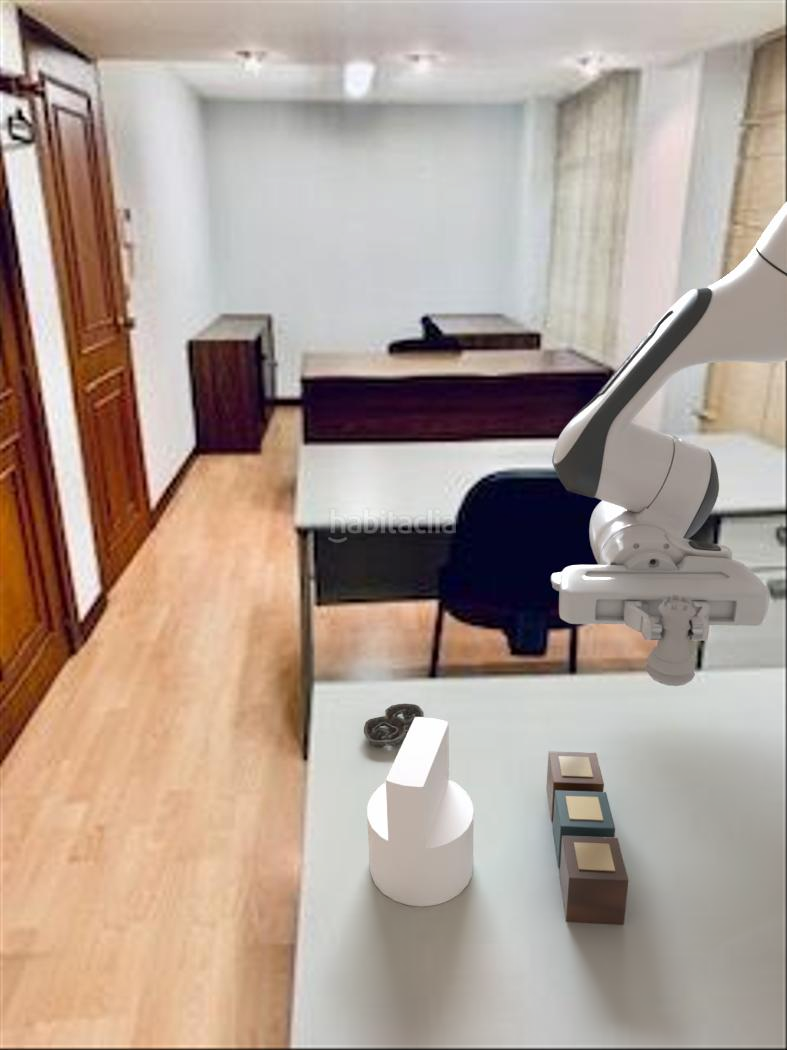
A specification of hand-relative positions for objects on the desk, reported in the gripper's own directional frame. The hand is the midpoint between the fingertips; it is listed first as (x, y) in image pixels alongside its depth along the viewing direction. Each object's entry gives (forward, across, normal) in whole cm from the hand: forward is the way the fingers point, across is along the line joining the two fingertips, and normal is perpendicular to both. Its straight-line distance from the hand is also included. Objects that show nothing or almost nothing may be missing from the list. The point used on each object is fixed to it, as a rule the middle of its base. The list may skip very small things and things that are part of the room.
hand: (677, 633), depth 70 cm
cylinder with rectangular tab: (+13, -23, +16) cm, 31 cm away
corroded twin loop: (-6, -28, +16) cm, 32 cm away
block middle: (+11, -9, +16) cm, 21 cm away
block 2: (+16, -9, +16) cm, 25 cm away
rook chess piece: (-1, 0, +5) cm, 5 cm away
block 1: (+5, -9, +16) cm, 19 cm away
